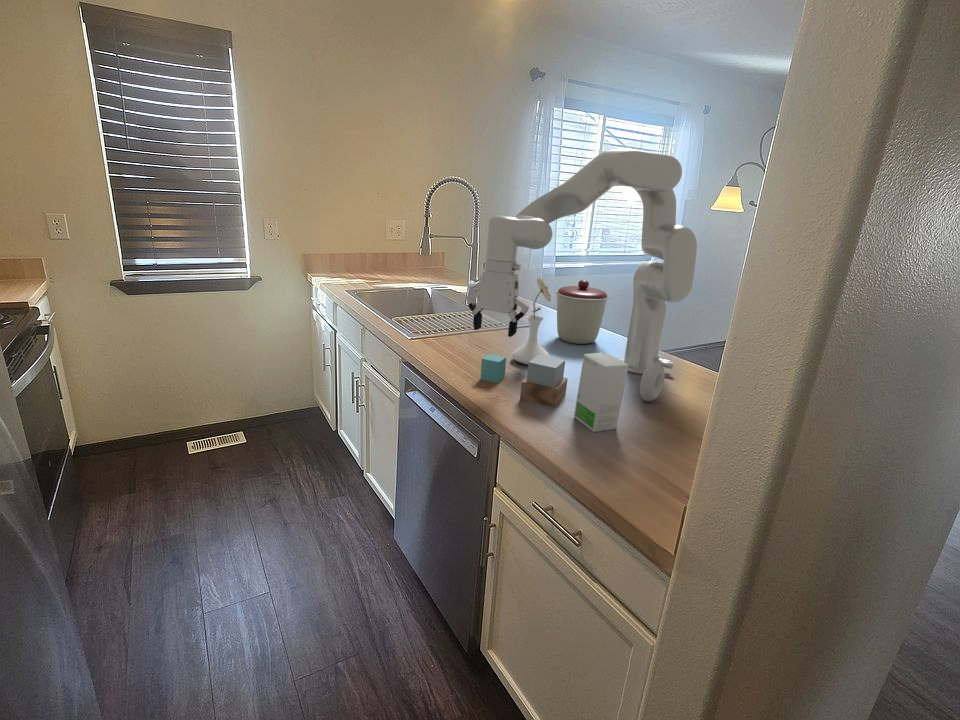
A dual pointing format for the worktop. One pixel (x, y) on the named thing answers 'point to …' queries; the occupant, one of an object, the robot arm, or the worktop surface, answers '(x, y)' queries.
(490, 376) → the teal block
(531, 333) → the flower in vase
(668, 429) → the worktop surface
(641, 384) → the donut
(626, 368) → the skincare box
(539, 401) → the base block
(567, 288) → the canister
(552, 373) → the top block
